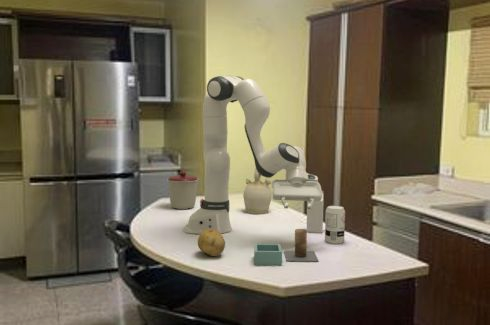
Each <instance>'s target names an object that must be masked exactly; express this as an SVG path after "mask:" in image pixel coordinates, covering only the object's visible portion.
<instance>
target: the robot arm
mask: <svg viewBox="0 0 490 325" xmlns="http://www.w3.org/2000/svg"><path fill="white" fill-rule="evenodd" d="M206 85H207V86H206V92H207V93H206V94H205V95H204V97H203V102H202V130H203V132H202V133H203V137H202V139H203V146H202V147H203V148H202V149H203V161H204V164H205V176H204V199H203V198H202V199H200V200H199V207H200V208H199V209H197V210H196V211H195V212H193V213H192V214H191V215H190V217H189V218H188V222H187V224H186V225H185V226H183V229H182V231H183V233H185V234H198V235H200V234H201V233H202V232H204V231H206V230H209V229H213V230H216V231H218V232H220V233H221V234H224V233H229V232H231V231H232V230H233V229H232V228H233V227H232V226H231V221H230V219H231V218H230V200H229V180H230V170H231V157H230V154H229V153H228V114H227V113H228V112H227V109H228V108H227V106H228V104H229V103H235V102H238V103H239V105H240V107H241V109H242V111H243V113H244V118H245V124H244V131H245V135H246V138H247V141H248V145H249V147H250V150H251V154H252V156H253V160H254V166H255V169H256V170H257V172H258V173H259V174H260V175H261V177H264V178H266V179H270V178H272V177H274V176H275V175H276V174H277V173H279V172H280V171H282V170H285V179H275V180H273V181H272V182H271V189H272V199H273V200H274V201H280V202H281V203H282V205H283V209H285V210H287V209H288V208H289V203H288V202H286V201H297V202H298V201H300V202H307V201H310V204H308V205H307V204H306V210H307V209H311V208H312V204H313V202H314V201H320V200H321V199H322V191H323V190H322V186H321V184H320V182H319V177H318V176H317V175H314V174H310V173H308V172H307V171H306V169H307V160H306V155H305V152H304V150H303V149H302V148H301V147H299V146H297V145H291V144H288V143H286V142H281V143H278V144H277V145H275V146H274V147H272V148H271V149H270V150H268V151H266V150H265V147H264V144H263V142H262V138H261V131H262V130H263V129H262V128H263V126H265V123H266V121H267V120H268V119H269V115H270V113H271V112H270V111H271V107H270V104H269V101H268V99H267V97H266V96H265V94H264V92H263V90H262V89H261V88H260V86H259V85H258V83H257V82H256V81H255V80H254V79H252V78H243V77H241V76H235V75H223V76H222V75H218V76H214V77H212V78H210V79H209V80H208V82H207V84H206ZM307 207H308V208H307Z"/></svg>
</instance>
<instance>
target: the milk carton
mask: <svg viewBox="0 0 490 325" xmlns="http://www.w3.org/2000/svg"><path fill="white" fill-rule="evenodd" d="M308 204H310V201H306V230H307V233H319V234H320V233H322V234H323V228H324V190H322V199H321V200H320V201H314V202H313V204H312V208H311V209H307V208H308V207H307V205H308Z"/></svg>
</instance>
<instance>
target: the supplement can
mask: <svg viewBox="0 0 490 325" xmlns="http://www.w3.org/2000/svg"><path fill="white" fill-rule="evenodd" d="M345 221H346V210H345V209H344V207H343V206H341V205H329V206H327V207H326V209H325V221H324V223H325V224H324V225H325V226H324V241H326V243H329V244H332V245H333V244H335V245H337V244H343V242H344V241H345V229H346V228H345V226H346V225H345V224H346V222H345Z"/></svg>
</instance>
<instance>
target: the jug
mask: <svg viewBox="0 0 490 325" xmlns="http://www.w3.org/2000/svg"><path fill="white" fill-rule="evenodd" d="M253 176H254V177H253V178H254V181H251V179H248V178H246V179H245V184H246V186H245V188H244V190H243V194H242V197H243V202H244V208H245V212H246V213H248V214H251V215H264V214H268V212H269V210H270V205H271V202H272V191H271V188H270V186H269V185H272V182H271V181H270V179H269V178H265V180H264V182H263V181H261V178H262V176H261V175H260V174H259V173H258V172H257V170H256V168H254V175H253Z"/></svg>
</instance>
